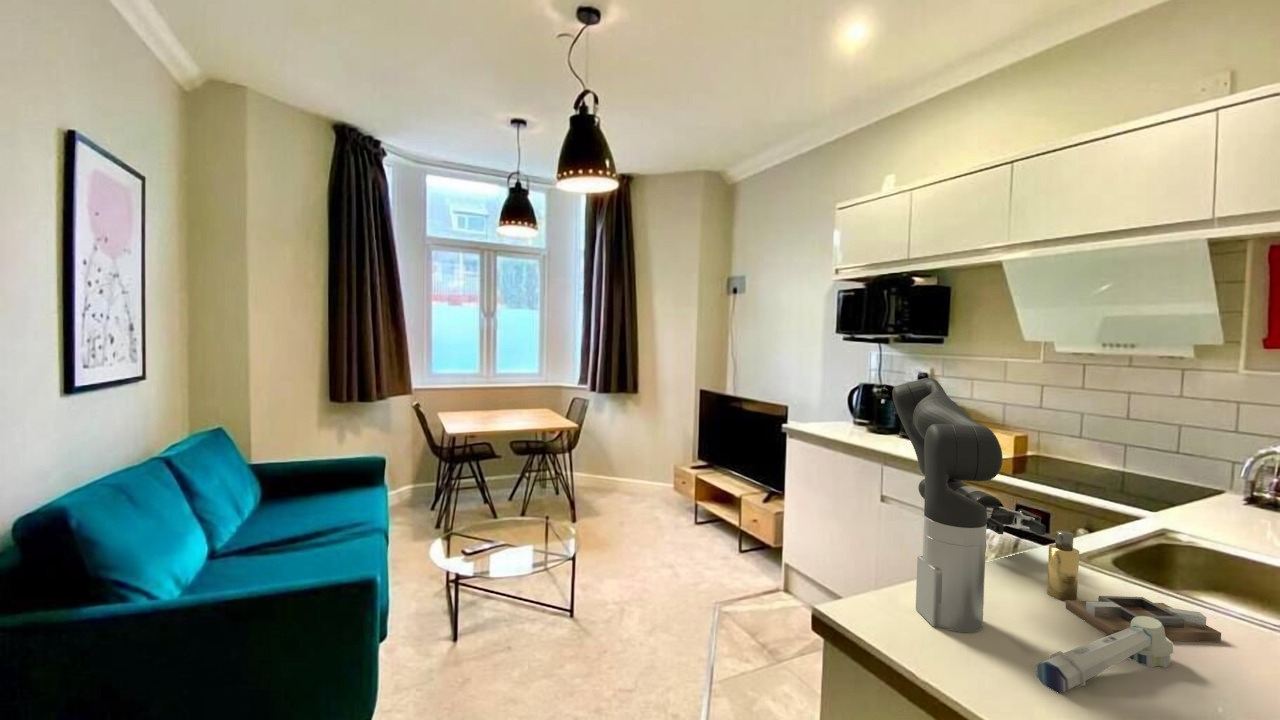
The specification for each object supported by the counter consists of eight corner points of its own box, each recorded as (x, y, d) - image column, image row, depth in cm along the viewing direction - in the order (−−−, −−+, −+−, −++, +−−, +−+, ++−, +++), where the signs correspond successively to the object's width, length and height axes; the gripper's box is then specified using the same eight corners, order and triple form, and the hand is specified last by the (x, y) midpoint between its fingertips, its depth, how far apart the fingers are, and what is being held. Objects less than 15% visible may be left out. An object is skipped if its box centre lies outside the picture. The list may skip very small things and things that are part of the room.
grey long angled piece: (1029, 652, 77) (1138, 601, 86) (1032, 697, 77) (1140, 642, 86) (1070, 674, 72) (1181, 617, 81) (1072, 721, 73) (1182, 660, 81)
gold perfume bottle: (1058, 601, 101) (1061, 536, 100) (1041, 590, 105) (1043, 528, 105) (1083, 602, 100) (1086, 537, 100) (1064, 591, 105) (1067, 529, 105)
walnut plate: (1112, 638, 88) (1113, 629, 88) (1065, 608, 98) (1065, 600, 98) (1220, 642, 87) (1221, 632, 87) (1162, 611, 97) (1162, 602, 97)
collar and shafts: (1108, 625, 89) (1109, 614, 89) (1072, 603, 97) (1073, 593, 97) (1210, 628, 89) (1211, 617, 89) (1166, 606, 96) (1167, 596, 96)
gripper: (947, 489, 130) (989, 511, 114) (1007, 490, 130) (1058, 513, 114) (945, 520, 130) (987, 547, 114) (1006, 521, 130) (1056, 548, 114)
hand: (1022, 530), depth 114 cm, fingers open, 8 cm apart
